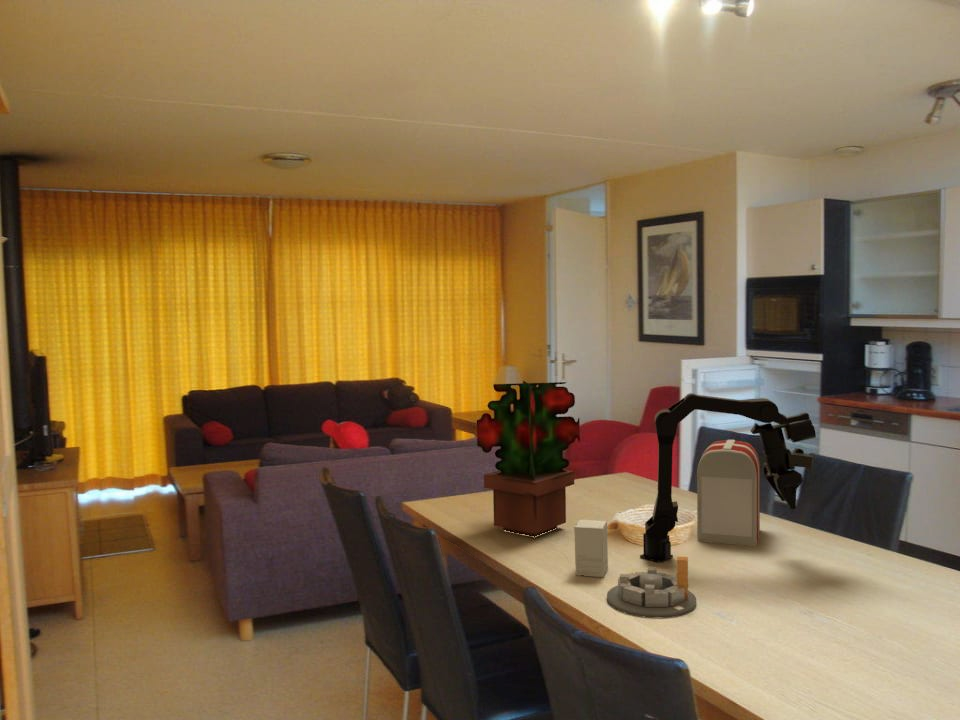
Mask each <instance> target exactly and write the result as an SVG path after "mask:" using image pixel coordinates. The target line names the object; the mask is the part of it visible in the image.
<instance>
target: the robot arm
mask: <svg viewBox="0 0 960 720" xmlns="http://www.w3.org/2000/svg"><path fill="white" fill-rule="evenodd" d="M695 410H697V411H706V412H713V413H721V414H728V415H729V414H730V415H731V414H732V415H737V416H742V417H745V418H748V419H751V420H755V421H757V422H761V423H764V424H759V423H756V422H754V424H753V426H752V427H751V429H750V433H751V434H753V435H756V434H757V435H759V438H760V442H761V445H762V451H761V453H762V456H764V458H765V462H763V463H762V464H761V465H760V470H761V471H760V472H761V474H762V475H763V477H764V478H765V479H766V481H767V482H768V484H769V485H770V486H771V488H772V490H773V491H774V492H775V494H776V495H777V497H779V499H780V501H782V502H786V504H787V505H788V507H789V508H790V509H791V510H795V509H796V507H797V489H798V488H799V487H800V486H801V485H802V484H803V483H804V479H803V475H802V473H800V472H798V471H797V470H796V468H805V469H807V470H808V469H809V470H811V469H813V464H814V456H813V455H811V454H808V453H805V451H804V450H803V449H802V448H798V447H797V448H794V450H793V451H791V450H790V449H789V448H787V444H786V440H790V441H791V442H792V443H793V444H794V443H798V442H802V441H803V442H804V441H807V440H812V439H816V436H817V435H816V429H815V426H814V425H813V421H812V419H811V418H810V414H809V412H803V413H799V414H796V415H791V416H788V417H787V416H786V415H785V414H784V413H781V412H779V411H780V410H779V408H778V406H777V404H776V403H775V402H773V401H772V400H770V399H768V398H746V399H734V398H727V397H719V396H709V395H702V394H695V393H690V392H689V393H687V394H686V395H685V396H684V397H682V398H681V399H680V400H678V401H677V402H675V403H674V404H672V405H671V406H670V407H668V408H663V409H661V410H659V411H657V412H656V413H655V415H654V425H655V430H656V436H657V444H658V445H657V446H658V447H657V448H658V449H657V450H658V452H657V453H658V454H657V455H658V457H657V460H658V461H657V494H656V498H655V502H654V506H653V507H654V508H653V511H652V516H651V517H650V518H649V519H648V520H646V522H645V523H644V528H645V529H644V530H645V532H644V533H643V534H642V536H643V539H642V541H643V543H642V544H643V545H642V547H643V553H642V554H640V555H639V557H640V558H642V559H645V560H649V561H654V562H657V563H661V562H664V561H666V560H669V559H672V558H673V557H674V555H673V554H672V543H671V541H670V535H669V532H671V531H673V530H674V529H675V527H676V523H678V522H679V519H678V511H679V503H678V501H673V499H672V498H673V497H672V495H673V494H672V493H673V492H672V489H673V488H672V487H673V482H672V481H673V447H674V443H675V439H676V434H677V430H678V429H677V428H678V425H679V423H681V422H682V421H683V420H684V419H686V418H687V417H688V416H689V415H690V414H691V413H692V412H693V411H695ZM772 423H776V424H775V425H774V424H772ZM784 435H785V436H784ZM785 438H786V440H785Z"/></svg>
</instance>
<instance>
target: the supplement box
mask: <svg viewBox="0 0 960 720" xmlns="http://www.w3.org/2000/svg"><path fill="white" fill-rule="evenodd" d="M573 530H574V558H575V560H574V562H575V575H576V576H581V575H584V576H585V577H595V578H604V577H605V575H606V574H605V573H607V571H608V570H609V552H608V551H609V549H608V542H609V541H608V521H607V520H594V519H593V520H592V519H579V520H578V521H577V523H576V524H575V526H574V527H573ZM584 576H583V577H584Z"/></svg>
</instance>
